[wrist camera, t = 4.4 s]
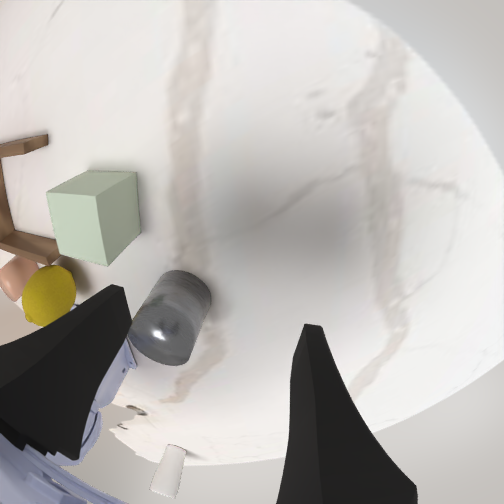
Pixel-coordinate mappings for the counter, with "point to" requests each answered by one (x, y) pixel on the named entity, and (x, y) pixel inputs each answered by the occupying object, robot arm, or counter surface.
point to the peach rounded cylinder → (16, 276)
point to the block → (95, 215)
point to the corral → (3, 231)
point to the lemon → (48, 295)
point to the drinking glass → (169, 472)
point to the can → (171, 318)
